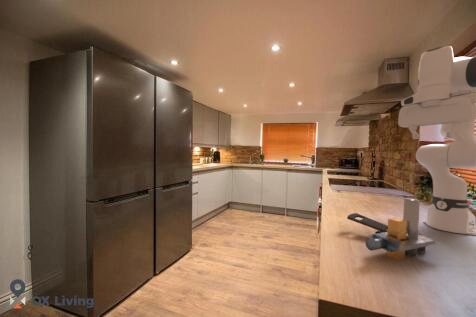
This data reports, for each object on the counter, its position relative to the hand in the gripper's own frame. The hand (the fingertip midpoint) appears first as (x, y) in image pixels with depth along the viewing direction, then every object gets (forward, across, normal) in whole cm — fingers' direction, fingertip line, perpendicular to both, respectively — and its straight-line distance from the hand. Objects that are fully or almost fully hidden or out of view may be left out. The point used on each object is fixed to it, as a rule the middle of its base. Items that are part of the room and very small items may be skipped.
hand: (432, 138), depth 73 cm
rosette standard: (+38, +1, +16) cm, 41 cm away
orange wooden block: (+38, +1, +15) cm, 41 cm away
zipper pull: (+38, +12, +5) cm, 40 cm away
